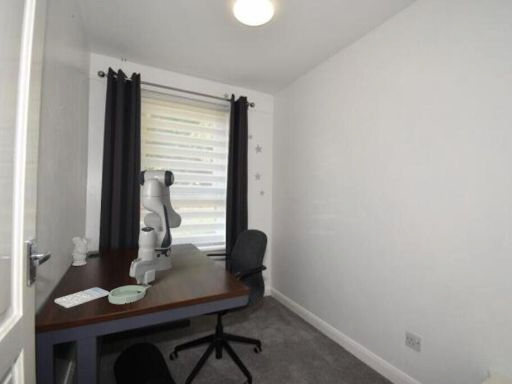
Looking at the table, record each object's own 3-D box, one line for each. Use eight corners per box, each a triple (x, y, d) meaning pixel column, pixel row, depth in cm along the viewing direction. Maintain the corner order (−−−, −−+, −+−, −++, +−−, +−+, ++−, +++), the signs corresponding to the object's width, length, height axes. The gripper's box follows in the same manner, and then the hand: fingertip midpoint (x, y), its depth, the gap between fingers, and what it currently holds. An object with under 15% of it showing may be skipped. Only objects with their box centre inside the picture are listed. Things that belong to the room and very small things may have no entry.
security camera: (154, 286, 145) (155, 269, 145) (145, 291, 139) (146, 273, 139) (145, 285, 147) (146, 268, 147) (136, 289, 141) (137, 271, 141)
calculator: (53, 302, 123) (53, 298, 123) (96, 289, 140) (96, 286, 140) (66, 309, 116) (67, 305, 116) (110, 294, 134) (110, 291, 134)
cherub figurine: (68, 264, 183) (69, 234, 184) (85, 260, 195) (86, 232, 195) (79, 267, 179) (80, 236, 179) (96, 262, 190) (97, 233, 190)
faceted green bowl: (100, 300, 125) (101, 294, 125) (128, 289, 140) (128, 283, 140) (126, 306, 119) (126, 300, 119) (151, 294, 135) (152, 288, 135)
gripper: (136, 260, 132) (135, 287, 132) (163, 253, 151) (162, 276, 151) (127, 259, 134) (126, 285, 134) (155, 252, 154) (154, 275, 153)
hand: (145, 280), depth 143 cm, fingers open, 8 cm apart
